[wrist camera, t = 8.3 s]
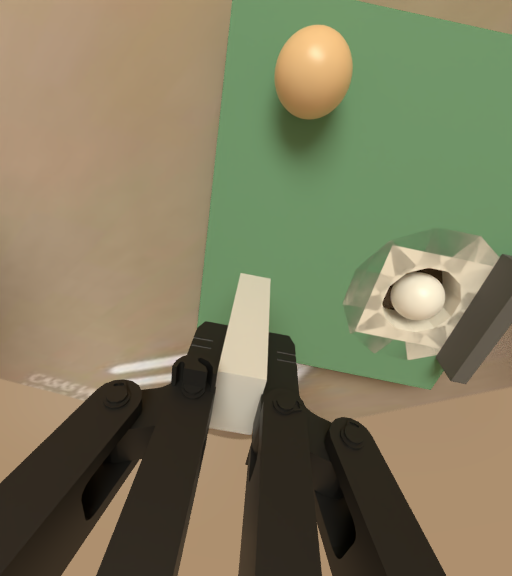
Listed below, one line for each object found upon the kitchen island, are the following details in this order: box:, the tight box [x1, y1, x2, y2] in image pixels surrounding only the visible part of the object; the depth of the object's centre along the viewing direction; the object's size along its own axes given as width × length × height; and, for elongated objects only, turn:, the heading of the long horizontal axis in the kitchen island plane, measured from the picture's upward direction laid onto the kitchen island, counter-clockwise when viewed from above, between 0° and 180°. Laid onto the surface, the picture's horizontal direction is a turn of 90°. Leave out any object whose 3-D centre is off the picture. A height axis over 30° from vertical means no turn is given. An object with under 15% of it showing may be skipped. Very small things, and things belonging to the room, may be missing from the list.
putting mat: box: [197, 0, 512, 390], centre depth 17 cm, size 19×20×5 cm
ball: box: [390, 272, 445, 320], centre depth 20 cm, size 3×3×3 cm
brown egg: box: [274, 25, 353, 120], centre depth 12 cm, size 3×3×3 cm
